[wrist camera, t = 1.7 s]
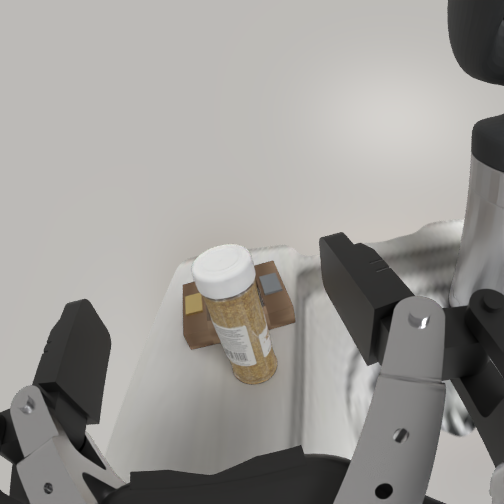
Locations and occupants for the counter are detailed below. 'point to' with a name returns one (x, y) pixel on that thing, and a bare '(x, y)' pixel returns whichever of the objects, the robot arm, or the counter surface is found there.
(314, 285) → the counter surface
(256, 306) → the sprinkles bottle
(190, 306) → the brass tag
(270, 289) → the slate tag
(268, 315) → the socket block
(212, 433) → the counter surface
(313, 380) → the counter surface
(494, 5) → the robot arm
